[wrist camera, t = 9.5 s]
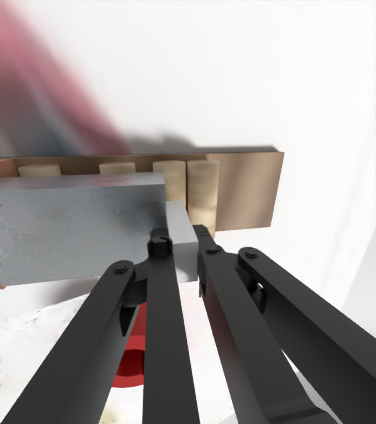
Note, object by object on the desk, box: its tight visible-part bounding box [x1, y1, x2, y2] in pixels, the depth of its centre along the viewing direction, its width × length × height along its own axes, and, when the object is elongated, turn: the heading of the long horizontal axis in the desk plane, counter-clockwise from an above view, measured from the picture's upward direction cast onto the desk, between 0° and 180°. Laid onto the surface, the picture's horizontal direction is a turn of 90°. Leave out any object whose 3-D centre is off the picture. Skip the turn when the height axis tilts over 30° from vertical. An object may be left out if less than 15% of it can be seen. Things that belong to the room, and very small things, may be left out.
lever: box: [112, 302, 147, 388], centre depth 27 cm, size 18×9×7 cm, turn 29°
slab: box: [0, 172, 167, 286], centre depth 15 cm, size 12×7×4 cm, turn 90°
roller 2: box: [99, 162, 136, 174], centre depth 18 cm, size 8×3×3 cm
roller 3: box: [187, 159, 219, 239], centre depth 20 cm, size 8×3×3 cm
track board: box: [0, 152, 284, 289], centre depth 18 cm, size 28×9×7 cm, turn 90°
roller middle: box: [153, 160, 186, 209], centre depth 19 cm, size 8×3×3 cm
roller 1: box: [18, 164, 61, 177], centre depth 18 cm, size 8×3×3 cm
